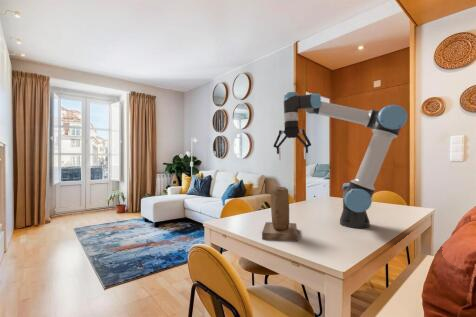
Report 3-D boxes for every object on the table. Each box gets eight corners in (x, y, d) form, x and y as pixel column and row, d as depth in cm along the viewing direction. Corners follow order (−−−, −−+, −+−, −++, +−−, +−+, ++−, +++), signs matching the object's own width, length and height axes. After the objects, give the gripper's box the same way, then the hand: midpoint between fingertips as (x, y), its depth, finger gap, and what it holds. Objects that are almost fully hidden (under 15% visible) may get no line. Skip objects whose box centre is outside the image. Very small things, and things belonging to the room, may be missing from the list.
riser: (296, 229, 130) (296, 223, 130) (297, 241, 112) (297, 234, 112) (265, 227, 134) (265, 222, 134) (262, 239, 115) (262, 232, 115)
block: (290, 230, 118) (290, 188, 118) (275, 231, 117) (274, 189, 117) (283, 224, 128) (283, 186, 128) (269, 225, 128) (269, 186, 128)
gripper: (268, 121, 134) (269, 160, 134) (315, 118, 130) (317, 159, 130) (268, 123, 142) (269, 160, 141) (313, 120, 138) (314, 158, 138)
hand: (292, 159), depth 136 cm, fingers open, 13 cm apart
